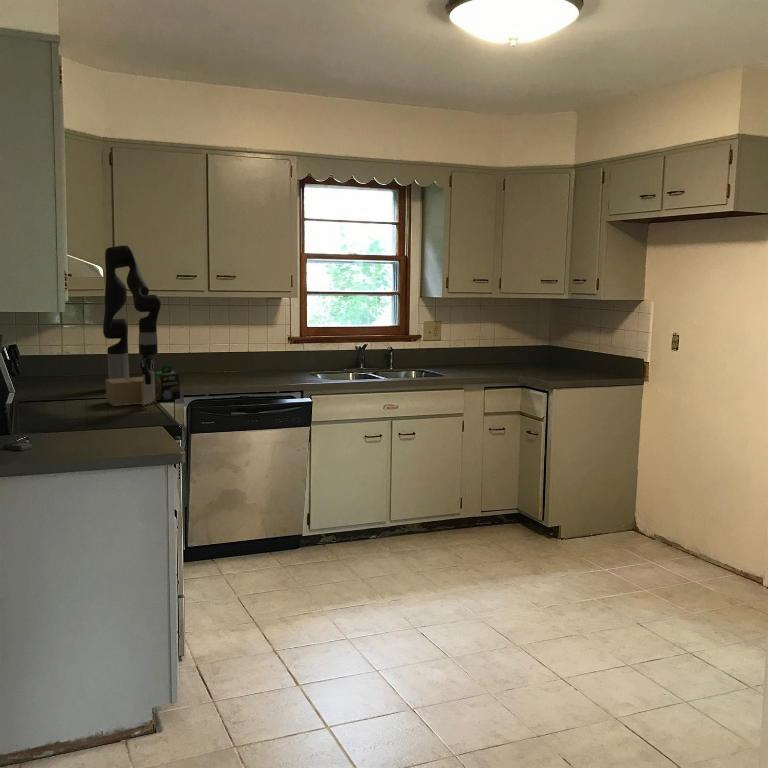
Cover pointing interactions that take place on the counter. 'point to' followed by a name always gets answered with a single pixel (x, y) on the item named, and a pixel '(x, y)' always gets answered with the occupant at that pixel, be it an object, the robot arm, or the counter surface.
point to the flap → (148, 390)
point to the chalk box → (167, 384)
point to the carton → (124, 390)
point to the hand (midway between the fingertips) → (148, 383)
